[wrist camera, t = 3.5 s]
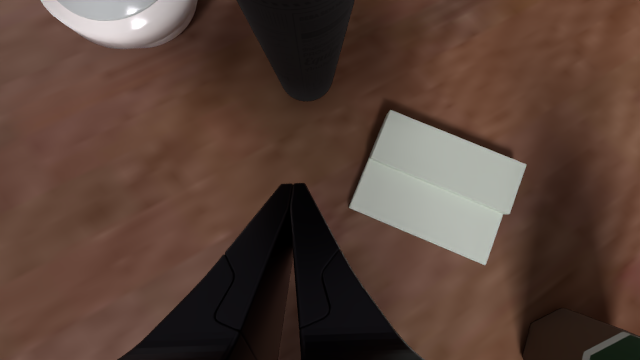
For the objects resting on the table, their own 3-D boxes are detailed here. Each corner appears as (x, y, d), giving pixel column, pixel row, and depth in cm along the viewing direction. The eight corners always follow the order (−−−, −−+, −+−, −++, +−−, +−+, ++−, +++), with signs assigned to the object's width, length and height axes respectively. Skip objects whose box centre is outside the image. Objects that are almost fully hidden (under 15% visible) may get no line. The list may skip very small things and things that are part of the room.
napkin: (513, 166, 22) (526, 163, 21) (479, 262, 22) (491, 267, 20) (386, 115, 23) (390, 108, 21) (348, 207, 22) (350, 207, 21)
